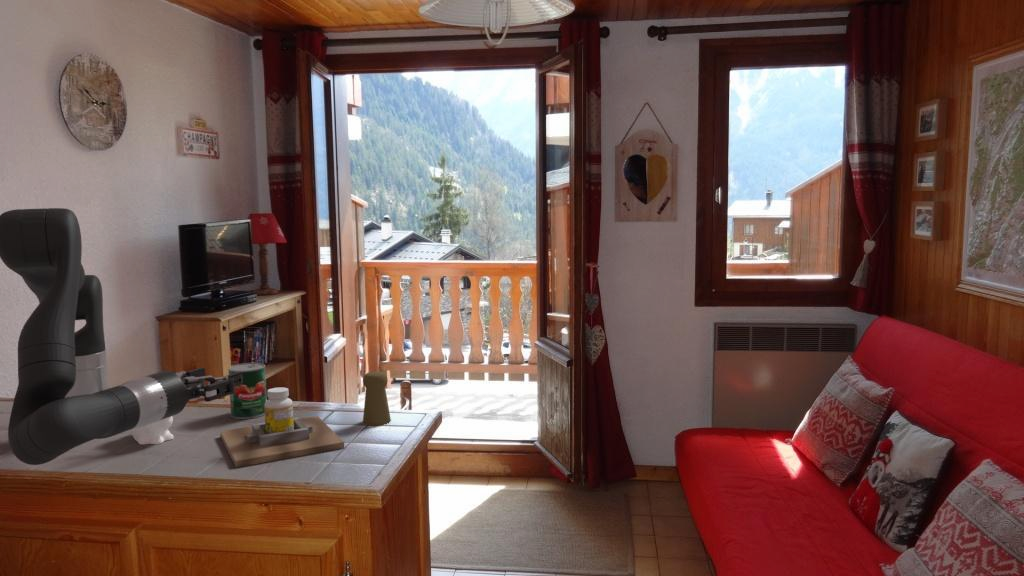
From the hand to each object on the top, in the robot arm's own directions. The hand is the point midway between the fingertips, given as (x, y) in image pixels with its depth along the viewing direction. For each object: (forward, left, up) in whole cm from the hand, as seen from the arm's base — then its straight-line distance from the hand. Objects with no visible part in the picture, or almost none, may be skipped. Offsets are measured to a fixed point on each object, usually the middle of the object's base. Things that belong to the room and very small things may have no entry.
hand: (222, 375), depth 131 cm
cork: (+32, +11, -17) cm, 38 cm away
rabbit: (-11, +23, -17) cm, 31 cm away
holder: (+11, +8, -17) cm, 22 cm away
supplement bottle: (+11, +8, -16) cm, 21 cm away
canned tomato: (+9, +32, -17) cm, 38 cm away
